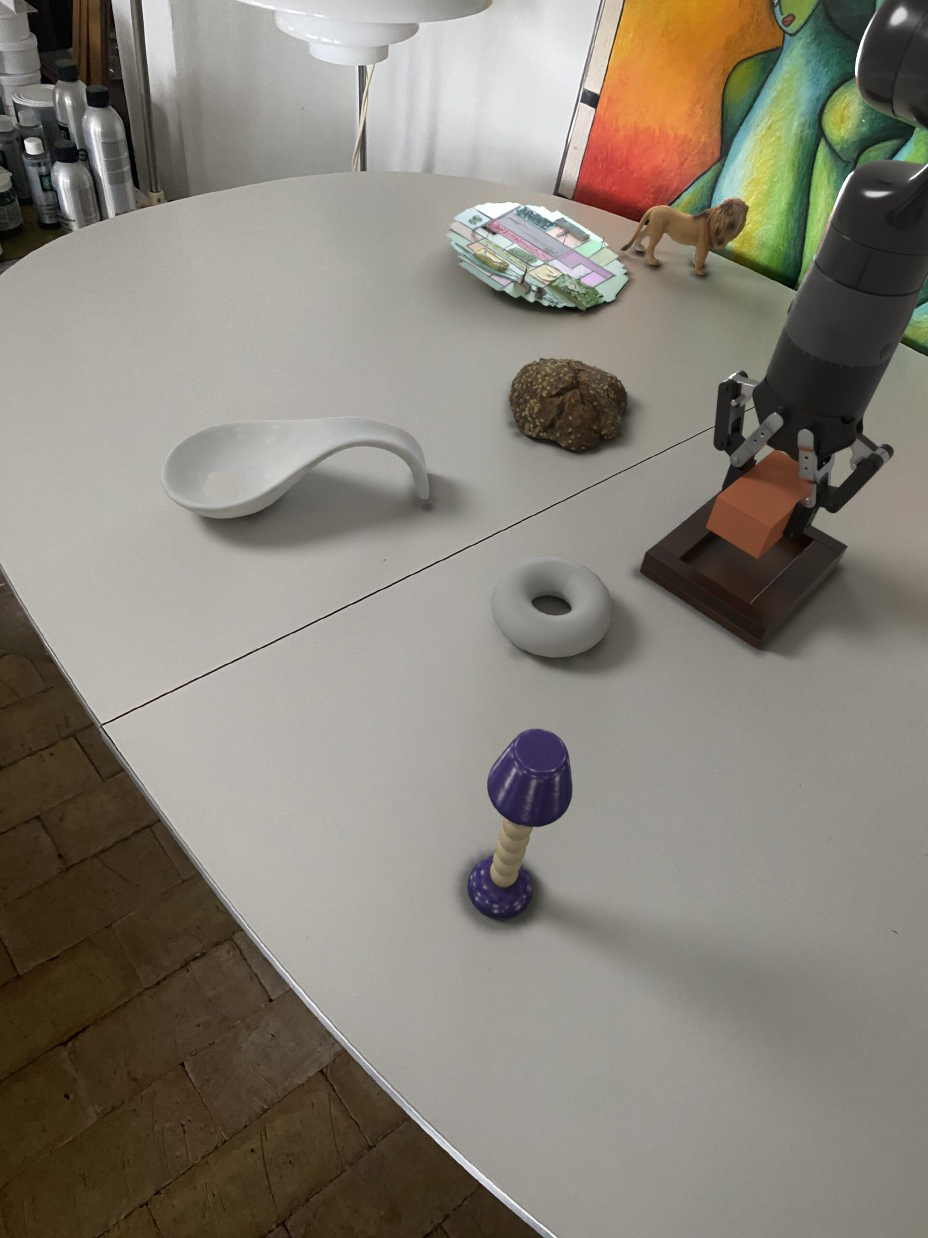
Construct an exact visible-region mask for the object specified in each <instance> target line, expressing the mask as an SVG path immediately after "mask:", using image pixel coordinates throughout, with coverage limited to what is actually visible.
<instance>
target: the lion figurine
mask: <svg viewBox="0 0 928 1238" xmlns="http://www.w3.org/2000/svg"><path fill="white" fill-rule="evenodd" d="M749 209H750V205H747V204H746V201H744V200H743V199H741V198H740V197H736V196H732V197H727V198H724V199H723V200H722V202H721V203H719V204H718V205H714V206H713V207H711V208H706V209H704V210H703V211H701V212H699V213H696V214H689V213H684V212H681V211H679V210H677V209H675V208H674V207H672V206H670V205H666V204H663V205H656V206H652V207H651V208H649V209H648V210H647V211H646V212H645V213H644V214H643V216H642V217H641V219H640V221H639V223H638V225H637V227H636V230H635V231H634V233H633V236H632V238H631V239H630V241H628V243H626V244H624V245H623V246H622V247H621V248H619V251H622V252H626V251H628V250H629V249H630V248H631V247H632V246H633V248H634V250H636V251H638V252H643V251H644V250H645V246H644V245H643V244H642V241H644V240H645V239H647V238H648V237H649V241H648V244H647V246H646V253H647V254H646V255H647V258H648V259H647V260H648V262H649V264H650V265H651V266H656V267H657V266H658V265H659V263H660V259H658V258H657V257H655V253H654V252H655V249H656V247H657V246H658V244H659V242H660V241H661V240H662V238H663V236H664V234H666V235H667V236H668V237H669V238H670V240H672V241H673V242H674V243H676V244H678V245H680V246H681V245H682V246H685V247H686V246H688V247H695V251H694V254H693V256H692V262H693V264H694V270H695V271H694V272H695V273H696V275H698V276H704V275H706V269H705V268H703V267H704V263H705V262H706V259H707V257H708V255H709V252H710V251H713V250H718V251H721V250H722V249H724V248H727V247H726V246H727V245H728V244H729V243H730V242H732V241H734V240H735V239H737V238H738V237H739V235H740V234H741V233H742V231H743V230H744V229H745V226H746V223H747V216H748V213H749ZM648 220H649V221H648ZM647 221H648V223H647V225H646V226H645V224H646V222H647ZM644 226H645V227H644Z"/></svg>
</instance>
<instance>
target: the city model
mask: <svg viewBox="0 0 928 1238" xmlns="http://www.w3.org/2000/svg"><path fill="white" fill-rule="evenodd" d="M452 220H453V221H454V222H451V223H450V224H449V226H450V227H448V228H446V230H447V231H448V233H447V234H445V235H444V236H445V237H447V238H448V239H450V240H451V243H450V245H451V246H452V248H453V249H454V250H456V251H455V253H458V254H459V255H457V256H456V257H457V258H458V259H459V260H461V261H462V262H459V263H458V265H459V266H460V267H461V268H463V269H464V270H466V271H467V272H469V273H471V275H473V276H475V277H476V278H478V279H479V280H480V281H482V282H484V283H485V284H487V285H488V286H490V287H491V288H493V290H495V291H496V292H503V291H504V292H506V294H508V295H510V296H512V297H513V298H514V299H516V298H519V297H520V296H521V297H522V298H524V299H525V300H526V301H528V302H530V303H534V302H535V301H537V302H539V303H540V304H541V305H543V306H545V307H547V306H551V307H554V306H556V307H557V308H563V307H564V306H567V307H568V308H569V307H572V308H574V307H577V308H578V310H580V311H583V312H586V309H587V308H591V307H593V306H597V305H600V304H603V303H604V301H605V302H606V303H609V302H612V301H614V300H616V299H617V298H616V295H617V294H618V293H619V292H620V290H622V288H623V287H624V285H625V284H626V283H627V281H629V277H628V276H627V275H625V273H627V272H628V270H626V269H625V268H624V267H625V265H624V263H622V262H620V261H619V260H618V257H619V254H617V253H615V252H614V251H612V250H611V249H609V248H607V247H609V243H607V242H605V241H606V236H603V238H602V237H600V236H599V235H597V234H596V233H594V232H592V231H591V230H589V229H587V228H586V227H584V226H582V225H581V224H579V223H578V222H576V221H574V220H573V219H571V218H570V217H568V216H566V215H565V214H563V213H561V212H560V211H559V210H555V211H553V212H552V211H550V210H549V209H547V208H546V207H544V206H538V205H530V204H526V205H523V204H521V203H519V202H517V203H516V202H514V203H512V202H510V201H506V202H505V203H501V202H498V203H491V202H489V201H487V202H486V203H483V204H482V203H479V204H477V205H476V206H474V207H473V206H472V207H471V208H470V207H468V208H466V209H465V210H464V211H462V212H461V213H459V214H458V215H456V216H454V217H453V218H452Z"/></svg>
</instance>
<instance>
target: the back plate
mask: <svg viewBox="0 0 928 1238" xmlns="http://www.w3.org/2000/svg"><path fill="white" fill-rule="evenodd" d="M721 493H722V488H721V489H720V490H719V491H718V492H716V493H715V494H714V495H713V496H711V497H710V498H709V499H708V500H707V501H706V502H704V503H703V504H702V505H701V506H699V507H698V508H696V510H695V511H693V512H692V513H691V514H690V515H689V516H687V517H686V518H685V519H684V520H682V522H680V523H679V524H678V525H677V526H675V527H674V528H673V529H671V530H670V531H669V532H668V533H667V534H666V535H664V536H663V537H662V538H661V539H660V540H658V541H657V542H656V543H654V544H653V545H652V546H650V547H649V548H648V549H647V550H646V551H645V552H644V556H643V559H642V562H641V566H640V569H639V573H641V574H642V575H644V576H645V577H647V578H648V579H649V580H651V581H653V582H654V583H656V584H657V585H658V586H660V587H662V588H663V589H665V590H667V591H668V592H670V593H671V594H673V596H675V597H677V598H679V599H680V600H681V601H683V602H685V603H686V604H688V605H689V606H691V607H692V608H693V609H695V610H697V611H698V612H700V613H702V614H703V615H705V617H707V618H709V619H710V620H712V621H714V622H715V623H716V624H718V625H720V626H721V627H722V628H724V629H726V630H727V631H729V632H730V633H732V634H733V635H735V636H736V637H737V638H740V639H741V640H742V641H744V642H746V643H747V644H749V645H750V646H751V647H753V648H755V650H756V649H759V647H760V646H761V645H762V644H763V643H764V642H765V641H766V640H767V639H768V638H769V637H770V636H772V634H773V633H774V632H775V631H776V630H777V629H778V628H779V627H780V625H782V624H783V622H784V621H785V620H787V618H788V617H789V616H790V615H792V614H793V612H794V611H795V610H796V609H797V608H798V607H799V606H801V604H802V603H803V602H804V601H805V600H806V599H807V598H808V597H809V596H810V595H811V593H813V592H814V591H815V589H816V588H817V587H818V586H819V585H820V584H822V582H823V581H824V580H825V579H826V578H827V577H829V575H830V574H831V573H832V572H833V571H834V570H835V569H836V567H837V566H838V565H839V563H840V561H841V560H842V558H843V556H844V554H845V552H846V551H847V549H848V545H847V544H845V543H843V542H842V541H840V540H838V539H837V538H835V537H832V536H831V535H829V534H828V533H826V532H824V531H822V530H820V529H819V528H817V527H815V526H813V525H812V524H811V525H810V526H809V527H808V528H807V529H806V530H805V531H804V532H803V533H802V534H801V535H799V536H797V535H795V534H794V535H793V536H792V537H791V538H790V539H789V538H787V537H786V536H784V535H783V536H782V537H781V538H780V539H779V540H778V541H777V542H776V543H775V544H774V545H773V546H772V547H770V548H769V549H768V550H767V551H766V552H765V553H764V554H763V555H762V556H761V557H760V558H759V559H757V558H755V557H753V556H752V555H750V554H748V553H747V552H745V551H743V550H742V549H740V548H738V547H737V546H735V545H734V544H732V543H730V542H729V541H727V540H725V539H724V538H722V537H720V536H719V535H717V534H716V533H714V532H712V531H711V530H709V529H707V528H706V526H707V523H708V521H709V518H710V515H711V513H712V510H713V508H714V505H715V502H716V500H717V497H718V495H720V494H721Z"/></svg>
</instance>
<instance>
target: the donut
mask: <svg viewBox="0 0 928 1238" xmlns="http://www.w3.org/2000/svg"><path fill="white" fill-rule="evenodd" d="M494 583H495V584H494V586H493V588H492V589H493V590H492V594H491V598H490V607H491V612H492V618H493V621H494V622H495V624H496V626H497V627H498V629H499V630H500V632H501V633H502V635H503V636H504V637H505V638H506V639H507V640H508V641H510V642H511V643H512V644H513V645H514V646H516V647H517V648H519V649H520V650H521V649H522V650H523V651H526V652H528V653H530V654H532V655H535V656H541V657H547V658H568V657H574V656H575V655H578V654H582V653H584V652H586V651H589V650H590V649H592V648H593V647H594V646H595V645H596V644H598V643H600V641H602V640H603V638H604V636H605V635H606V633H607V631H608V630H609V628H610V627H611V625H612V619H613V610H614V604H613V602H612V598H611V595H610V594H611V593H610V592H609V589H608V587H607V586H606V584H605V583H604V582H603V580H602V579H601V578H600V576H599V575H598V574H596V573H595V572H594V571H592V570H591V569H589V568H588V567H587V566H586V565H584V564H581V563H579V562H576V561H574V560H572V559H570V558H565V557H560V556H554V555H548V556H547V555H546V556H533V557H530V558H526V559H523V560H519V561H517V562H516V563H515V564H512V565H511V566H510V567H508V568H507V569H506V570H504V571H503V573H502V574H501V575H500V577H499V578H498V579H497V581H496V582H494ZM543 596H544V597H545V596H550V597H557V598H559V599H562V600H563V601H564V602H566V603H567V604H569V606H570V608H571V610H570V611H569V612H568V613H564V614H561V615H560V614H559V615H552V614H547V613H544V612H542V611H540V610H538V609H537V608H536V607H535V606H534V605H533V600H535V599H536V598H539V597H543Z"/></svg>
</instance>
